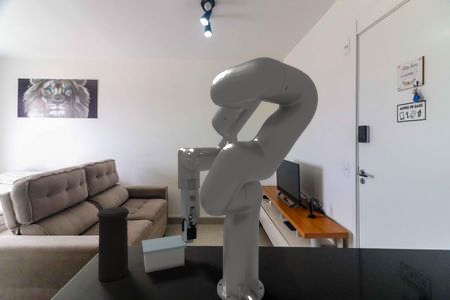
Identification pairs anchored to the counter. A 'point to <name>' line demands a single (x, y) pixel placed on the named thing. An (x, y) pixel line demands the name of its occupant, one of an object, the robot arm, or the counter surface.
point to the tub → (164, 260)
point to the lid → (166, 242)
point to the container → (113, 243)
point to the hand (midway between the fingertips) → (188, 234)
